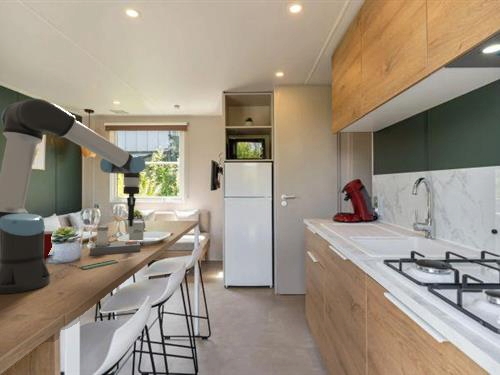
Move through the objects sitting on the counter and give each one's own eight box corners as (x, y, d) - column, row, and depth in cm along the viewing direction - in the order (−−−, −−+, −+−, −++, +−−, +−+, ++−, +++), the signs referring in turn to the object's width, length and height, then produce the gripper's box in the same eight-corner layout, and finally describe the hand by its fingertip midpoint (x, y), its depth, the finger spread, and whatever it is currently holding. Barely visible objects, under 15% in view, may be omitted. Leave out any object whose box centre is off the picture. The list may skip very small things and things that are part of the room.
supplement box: (128, 245, 165) (128, 222, 164) (130, 242, 172) (130, 221, 172) (142, 244, 167) (142, 222, 166) (143, 242, 174) (143, 220, 174)
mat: (84, 269, 116) (84, 268, 116) (68, 264, 124) (68, 262, 124) (117, 262, 127) (117, 261, 127) (101, 257, 136) (101, 256, 136)
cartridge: (100, 252, 141) (100, 227, 141) (94, 251, 144) (95, 226, 144) (110, 251, 145) (110, 226, 145) (105, 249, 148) (105, 225, 148)
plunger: (127, 249, 147) (127, 242, 147) (126, 247, 151) (126, 240, 151) (135, 248, 149) (135, 241, 149) (135, 247, 152) (135, 240, 152)
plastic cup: (65, 254, 141) (65, 229, 141) (47, 260, 130) (47, 233, 130) (44, 254, 142) (44, 229, 142) (24, 259, 131) (24, 232, 131)
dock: (90, 257, 137) (90, 248, 137) (92, 251, 148) (92, 243, 148) (140, 252, 146) (140, 244, 146) (138, 248, 157) (138, 240, 157)
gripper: (140, 186, 145) (139, 234, 145) (138, 186, 157) (137, 230, 157) (123, 185, 142) (122, 234, 142) (123, 186, 154) (122, 231, 153)
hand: (130, 232), depth 149 cm, fingers closed
